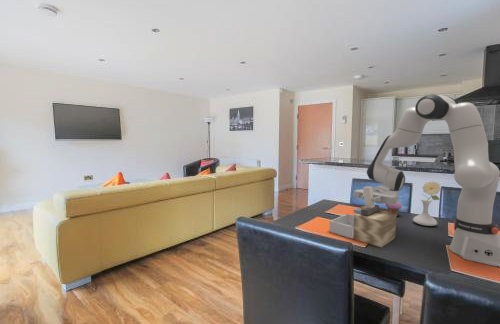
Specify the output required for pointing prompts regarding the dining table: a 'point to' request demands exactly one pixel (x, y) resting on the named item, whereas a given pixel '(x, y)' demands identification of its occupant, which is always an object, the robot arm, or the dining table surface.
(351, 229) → the box
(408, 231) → the dining table surface
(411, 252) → the dining table surface
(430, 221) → the flower in vase
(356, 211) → the slate tile
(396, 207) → the cupcake
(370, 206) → the scraper
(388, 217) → the wooden grain block
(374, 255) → the dining table surface
